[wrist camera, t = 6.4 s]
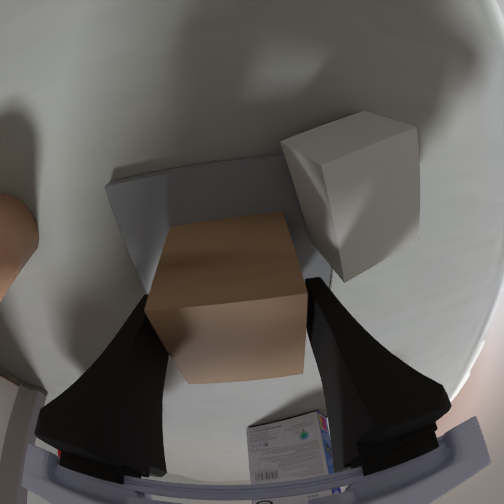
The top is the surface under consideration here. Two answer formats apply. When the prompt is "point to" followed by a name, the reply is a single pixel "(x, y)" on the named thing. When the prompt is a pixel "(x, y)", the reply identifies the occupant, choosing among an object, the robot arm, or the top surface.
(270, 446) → the ink cartridge box
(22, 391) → the cabinet
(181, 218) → the slate coaster
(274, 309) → the walnut block
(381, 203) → the grey plastic box
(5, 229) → the peach egg shape
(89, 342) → the top surface
